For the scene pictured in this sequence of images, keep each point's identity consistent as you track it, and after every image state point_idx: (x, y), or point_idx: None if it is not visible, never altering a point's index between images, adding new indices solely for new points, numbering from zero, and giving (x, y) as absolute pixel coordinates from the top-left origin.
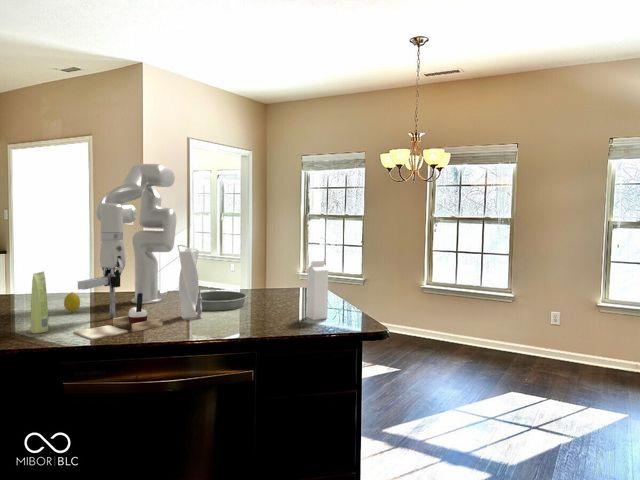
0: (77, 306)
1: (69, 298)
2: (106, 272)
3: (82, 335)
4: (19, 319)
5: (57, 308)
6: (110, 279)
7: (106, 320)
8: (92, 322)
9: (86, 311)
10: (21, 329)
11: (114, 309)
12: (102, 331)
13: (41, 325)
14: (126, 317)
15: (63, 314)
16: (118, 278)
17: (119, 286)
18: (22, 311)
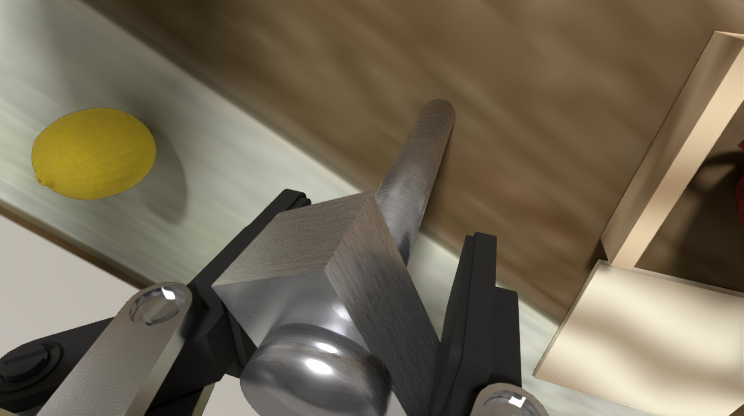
0: (143, 138)
1: (103, 194)
2: (185, 389)
3: (619, 401)
4: None
5: (23, 106)
6: None
7: (452, 167)
8: (429, 228)
9: (152, 70)
10: None
11: (447, 134)
12: (672, 356)
13: None
14: (676, 196)
15: (170, 175)
16: (518, 382)
17: (494, 245)
18: (47, 209)
